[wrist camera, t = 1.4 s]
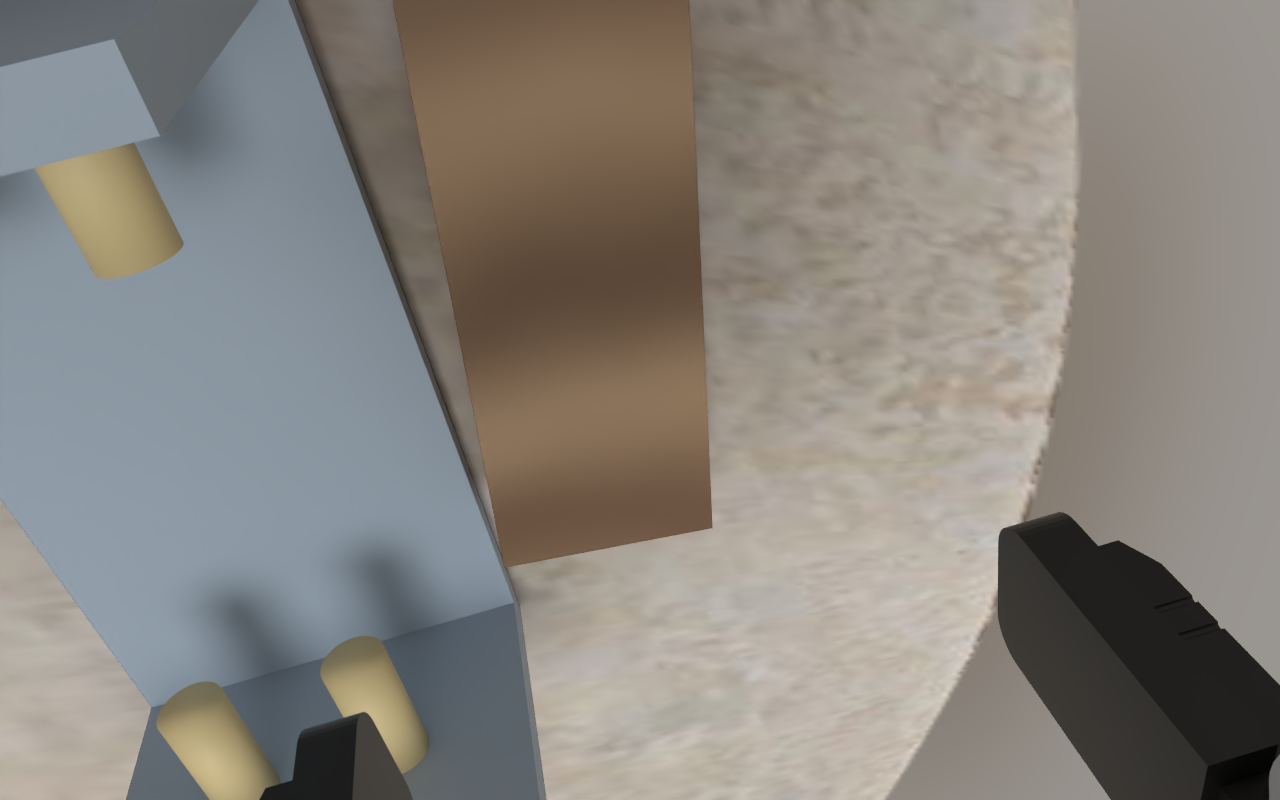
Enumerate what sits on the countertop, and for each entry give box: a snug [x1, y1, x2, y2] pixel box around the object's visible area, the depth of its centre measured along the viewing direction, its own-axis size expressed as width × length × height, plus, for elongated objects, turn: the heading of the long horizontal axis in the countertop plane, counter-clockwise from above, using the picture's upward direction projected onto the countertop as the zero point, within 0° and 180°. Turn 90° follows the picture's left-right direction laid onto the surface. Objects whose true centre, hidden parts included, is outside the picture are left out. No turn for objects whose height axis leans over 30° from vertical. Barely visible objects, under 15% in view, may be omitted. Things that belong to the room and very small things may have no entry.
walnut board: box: [393, 0, 712, 568], centre depth 23 cm, size 15×6×4 cm, turn 5°
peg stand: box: [0, 0, 546, 800], centre depth 20 cm, size 20×11×12 cm, turn 11°
